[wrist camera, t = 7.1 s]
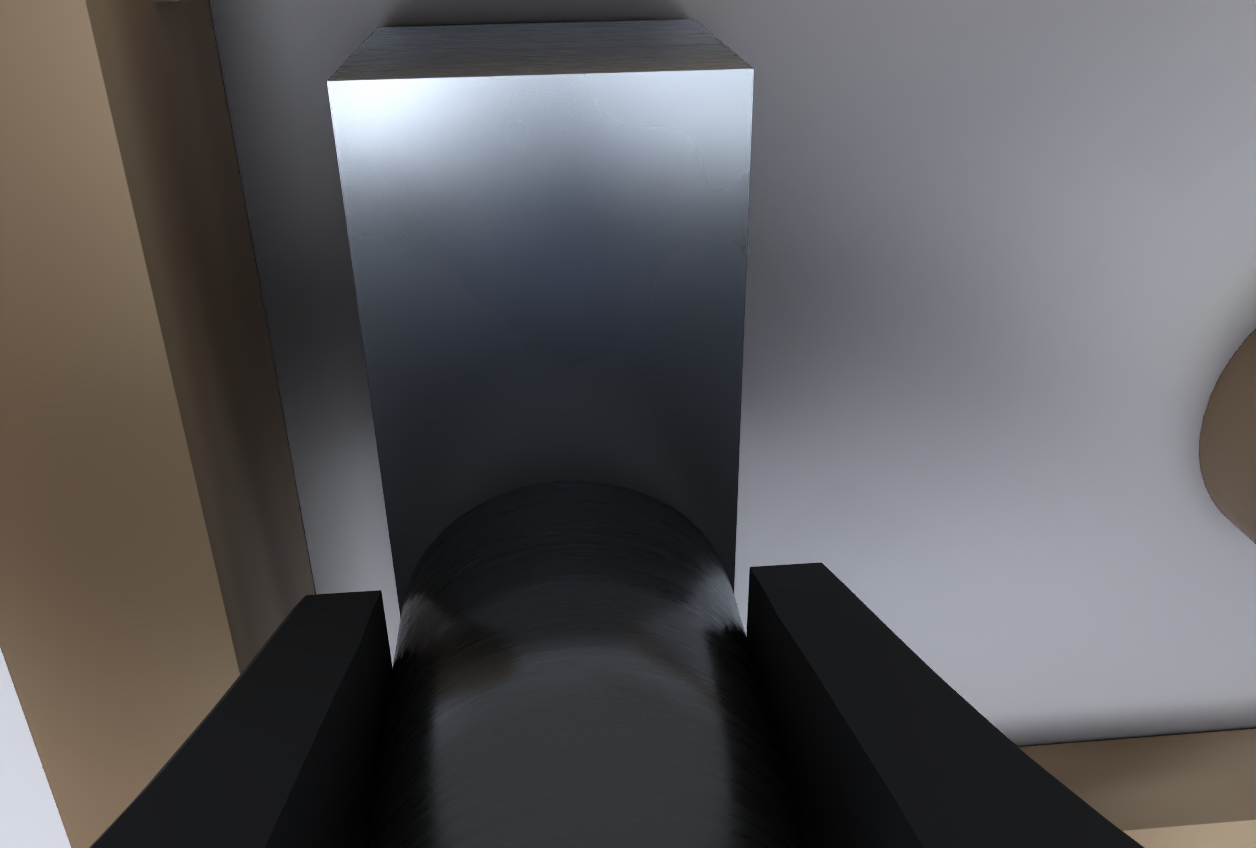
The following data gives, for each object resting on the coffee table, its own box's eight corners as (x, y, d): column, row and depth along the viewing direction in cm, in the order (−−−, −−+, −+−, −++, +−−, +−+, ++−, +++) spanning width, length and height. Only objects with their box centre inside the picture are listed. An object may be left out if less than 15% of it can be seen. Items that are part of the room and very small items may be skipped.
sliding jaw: (693, 19, 10) (936, 218, 4) (684, 762, 15) (797, 1379, 9) (377, 27, 10) (165, 252, 4) (463, 779, 14) (422, 1425, 8)
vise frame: (2110, -189, 11) (2630, -210, 8) (1601, 758, 17) (1807, 926, 14) (-60, -161, 9) (-292, -175, 7) (220, 872, 15) (155, 1083, 12)
